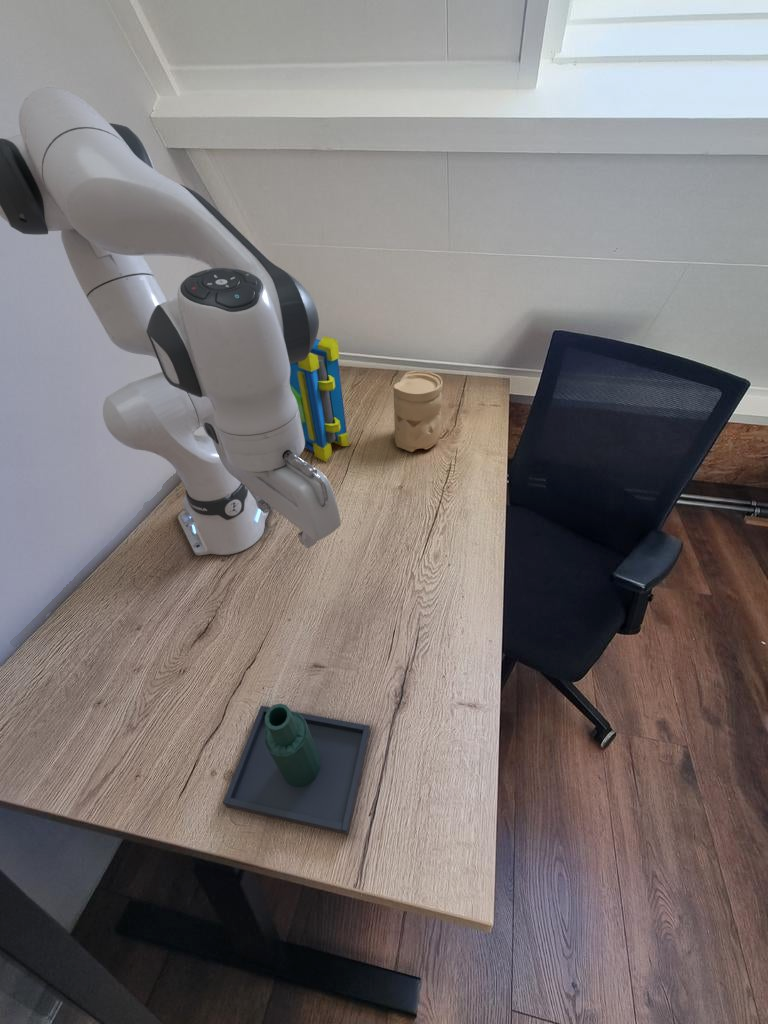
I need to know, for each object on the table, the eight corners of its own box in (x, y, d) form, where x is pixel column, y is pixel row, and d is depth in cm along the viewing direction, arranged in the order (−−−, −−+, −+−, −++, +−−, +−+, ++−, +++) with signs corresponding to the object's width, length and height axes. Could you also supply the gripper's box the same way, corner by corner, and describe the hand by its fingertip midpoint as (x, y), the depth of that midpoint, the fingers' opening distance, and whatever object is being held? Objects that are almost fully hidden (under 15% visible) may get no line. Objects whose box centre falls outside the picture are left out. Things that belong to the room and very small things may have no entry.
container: (390, 451, 124) (388, 391, 112) (400, 427, 133) (398, 369, 120) (436, 456, 121) (438, 395, 109) (443, 431, 130) (445, 372, 118)
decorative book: (303, 419, 139) (284, 319, 118) (359, 444, 127) (349, 338, 107) (267, 440, 131) (240, 337, 110) (323, 469, 119) (304, 360, 99)
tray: (226, 807, 63) (222, 803, 62) (263, 711, 73) (260, 705, 71) (348, 835, 60) (346, 831, 59) (370, 731, 70) (369, 725, 68)
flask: (275, 766, 66) (245, 717, 55) (305, 738, 69) (283, 685, 57) (297, 796, 63) (271, 750, 52) (328, 765, 66) (309, 715, 54)
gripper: (346, 460, 46) (358, 552, 55) (239, 396, 57) (264, 481, 66) (296, 490, 43) (317, 582, 52) (193, 416, 54) (226, 502, 63)
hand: (287, 525), depth 59 cm, fingers open, 8 cm apart
